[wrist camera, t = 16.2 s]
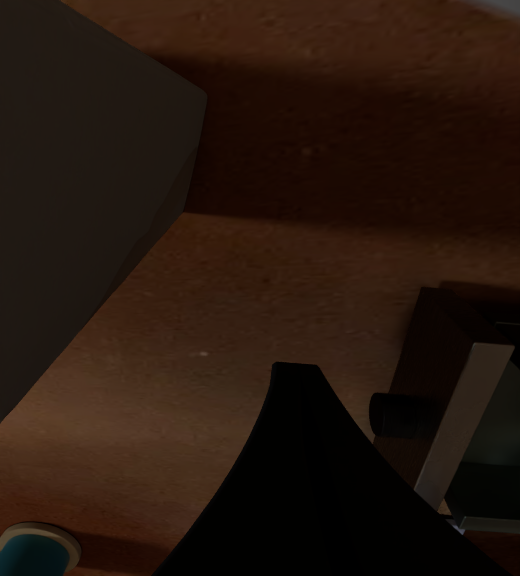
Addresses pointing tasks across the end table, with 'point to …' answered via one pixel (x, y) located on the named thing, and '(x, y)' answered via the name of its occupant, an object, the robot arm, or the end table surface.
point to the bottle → (33, 557)
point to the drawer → (456, 411)
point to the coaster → (48, 532)
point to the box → (79, 175)
